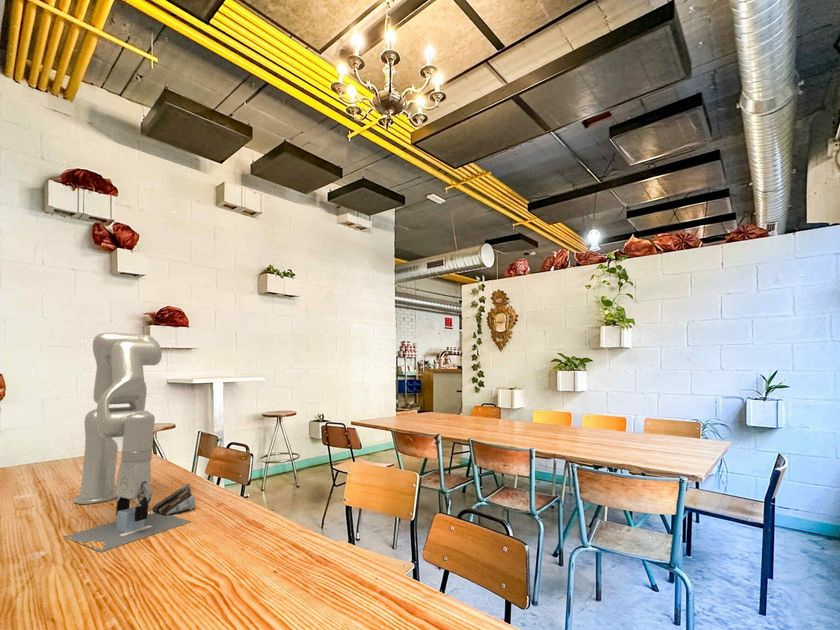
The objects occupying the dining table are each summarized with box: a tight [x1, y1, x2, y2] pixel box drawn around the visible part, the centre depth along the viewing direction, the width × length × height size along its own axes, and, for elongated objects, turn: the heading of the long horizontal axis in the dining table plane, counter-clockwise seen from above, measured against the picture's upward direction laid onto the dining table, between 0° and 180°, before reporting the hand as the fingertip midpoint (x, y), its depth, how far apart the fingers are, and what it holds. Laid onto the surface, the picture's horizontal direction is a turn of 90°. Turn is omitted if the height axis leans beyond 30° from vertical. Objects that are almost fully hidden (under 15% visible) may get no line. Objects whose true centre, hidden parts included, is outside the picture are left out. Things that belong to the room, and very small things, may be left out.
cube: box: [116, 505, 145, 533], centre depth 120 cm, size 5×5×5 cm
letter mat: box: [63, 511, 192, 553], centre depth 120 cm, size 20×24×1 cm
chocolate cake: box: [152, 483, 196, 515], centre depth 135 cm, size 10×7×12 cm
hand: (131, 516), depth 120 cm, fingers open, 9 cm apart
